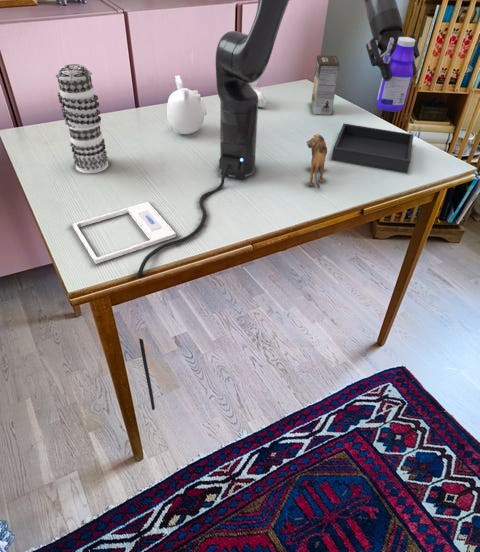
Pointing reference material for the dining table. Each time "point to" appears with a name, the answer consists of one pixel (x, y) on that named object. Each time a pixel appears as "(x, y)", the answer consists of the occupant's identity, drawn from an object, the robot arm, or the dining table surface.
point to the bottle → (397, 77)
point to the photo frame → (147, 222)
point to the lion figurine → (317, 157)
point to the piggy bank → (185, 109)
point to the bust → (260, 95)
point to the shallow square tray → (373, 147)
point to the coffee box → (324, 84)
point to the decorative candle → (82, 118)
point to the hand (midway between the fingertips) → (401, 78)
